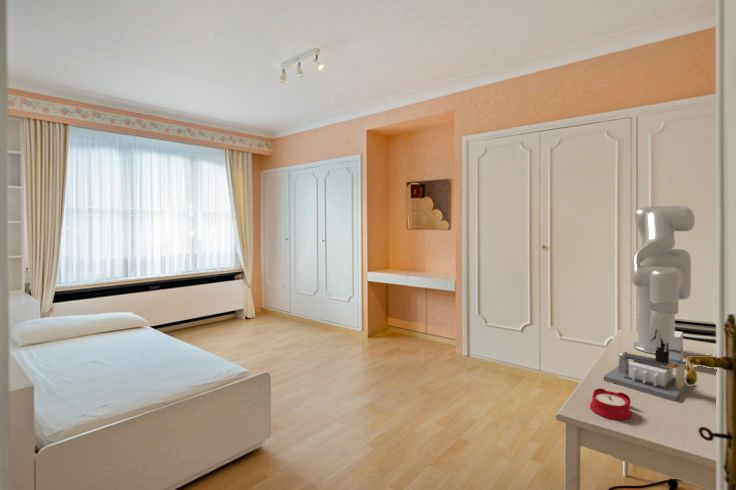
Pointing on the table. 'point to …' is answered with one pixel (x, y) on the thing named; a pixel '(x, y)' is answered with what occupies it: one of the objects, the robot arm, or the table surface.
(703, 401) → the table surface
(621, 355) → the grey flat bar
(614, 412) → the alarm clock
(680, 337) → the ink box
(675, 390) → the heatsink board
